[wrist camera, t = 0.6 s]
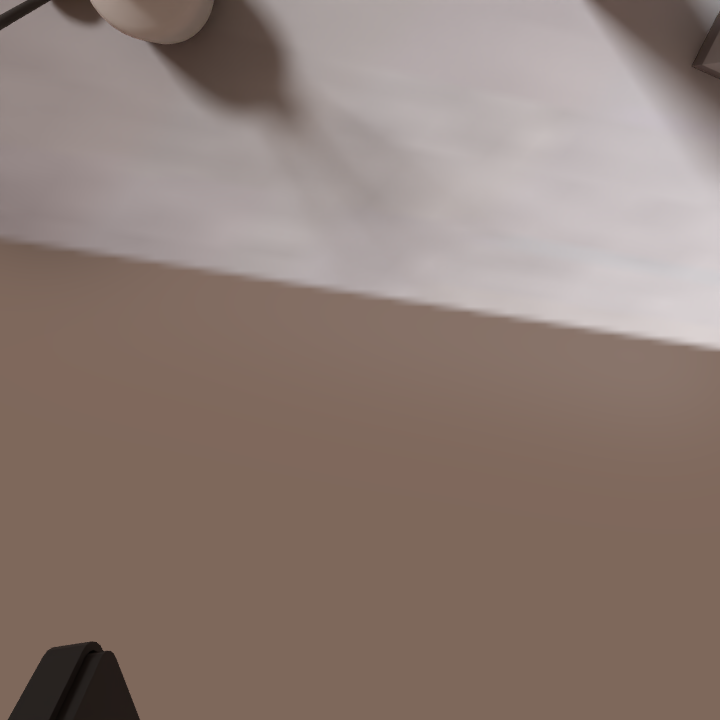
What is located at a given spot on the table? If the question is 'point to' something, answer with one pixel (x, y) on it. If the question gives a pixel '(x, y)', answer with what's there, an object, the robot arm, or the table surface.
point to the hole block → (710, 51)
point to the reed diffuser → (139, 17)
